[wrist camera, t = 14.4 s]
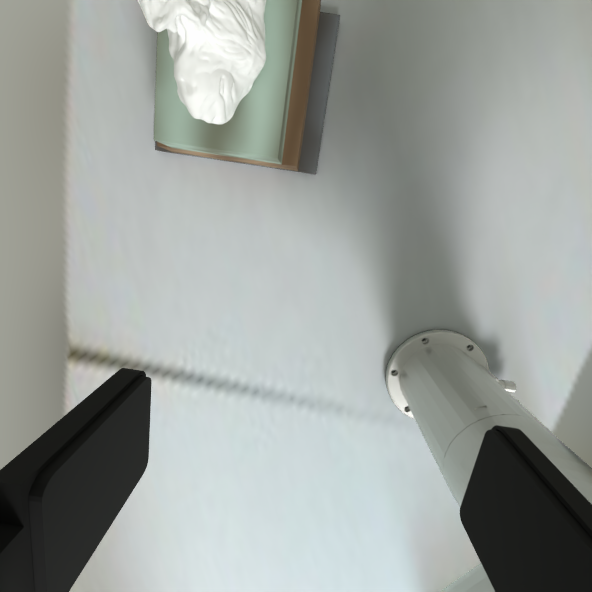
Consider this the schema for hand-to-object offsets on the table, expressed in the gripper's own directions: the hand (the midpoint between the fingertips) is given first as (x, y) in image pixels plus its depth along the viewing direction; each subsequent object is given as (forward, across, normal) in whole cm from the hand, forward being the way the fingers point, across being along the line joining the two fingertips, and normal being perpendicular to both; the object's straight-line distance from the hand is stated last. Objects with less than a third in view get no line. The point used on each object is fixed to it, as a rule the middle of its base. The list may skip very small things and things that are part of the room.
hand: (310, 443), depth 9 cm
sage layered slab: (+32, +10, -18) cm, 38 cm away
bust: (+24, +10, -17) cm, 31 cm away
